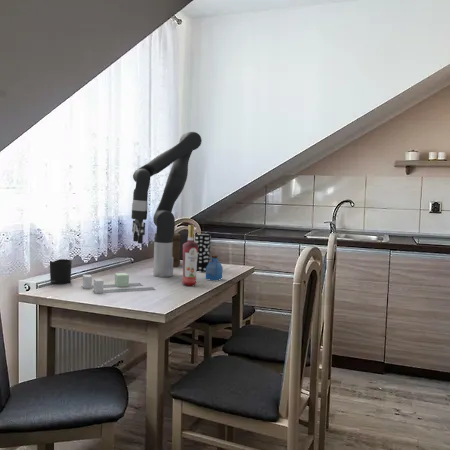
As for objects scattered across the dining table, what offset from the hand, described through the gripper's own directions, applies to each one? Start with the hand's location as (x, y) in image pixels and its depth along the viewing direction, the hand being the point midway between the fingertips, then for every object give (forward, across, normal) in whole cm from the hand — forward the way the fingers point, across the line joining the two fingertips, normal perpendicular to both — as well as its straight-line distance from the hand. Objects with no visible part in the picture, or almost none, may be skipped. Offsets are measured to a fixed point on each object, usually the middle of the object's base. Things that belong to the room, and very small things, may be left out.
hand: (137, 242), depth 238 cm
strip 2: (+18, -32, +13) cm, 39 cm away
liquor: (+17, -25, -19) cm, 35 cm away
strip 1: (+18, -22, +16) cm, 32 cm away
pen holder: (+19, -5, +36) cm, 41 cm away
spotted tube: (+16, +8, -39) cm, 43 cm away
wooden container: (+17, +29, -26) cm, 42 cm away
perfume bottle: (+16, -15, -36) cm, 42 cm away
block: (+17, -22, +12) cm, 30 cm away
